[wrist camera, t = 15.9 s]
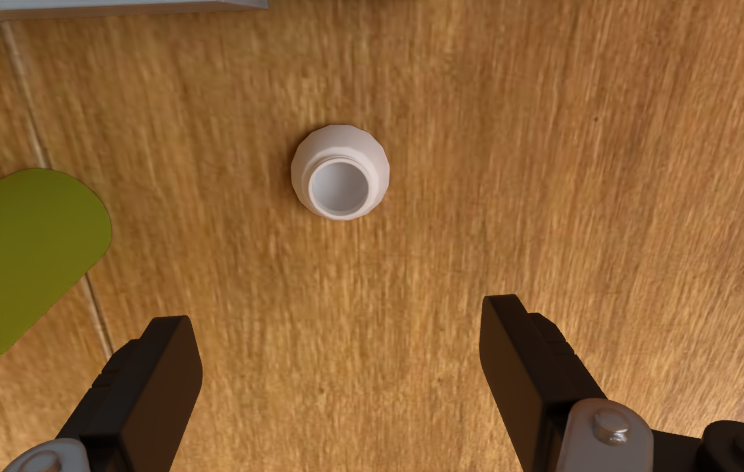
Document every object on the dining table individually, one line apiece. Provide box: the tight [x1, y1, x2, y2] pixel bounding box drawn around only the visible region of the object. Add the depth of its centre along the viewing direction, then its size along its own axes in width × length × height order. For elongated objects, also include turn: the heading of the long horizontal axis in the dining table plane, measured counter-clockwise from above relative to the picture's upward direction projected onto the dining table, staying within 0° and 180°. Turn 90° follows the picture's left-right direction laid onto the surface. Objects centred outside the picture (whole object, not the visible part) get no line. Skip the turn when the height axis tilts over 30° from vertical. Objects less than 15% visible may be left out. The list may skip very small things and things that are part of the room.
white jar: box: [291, 125, 390, 221], centre depth 23 cm, size 5×3×5 cm
